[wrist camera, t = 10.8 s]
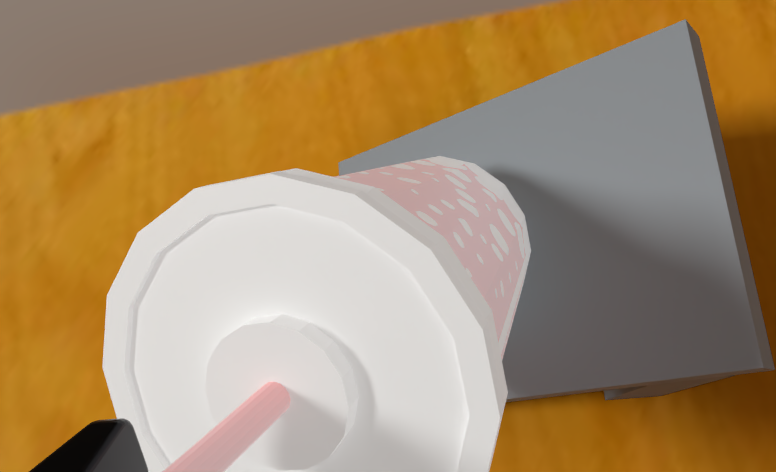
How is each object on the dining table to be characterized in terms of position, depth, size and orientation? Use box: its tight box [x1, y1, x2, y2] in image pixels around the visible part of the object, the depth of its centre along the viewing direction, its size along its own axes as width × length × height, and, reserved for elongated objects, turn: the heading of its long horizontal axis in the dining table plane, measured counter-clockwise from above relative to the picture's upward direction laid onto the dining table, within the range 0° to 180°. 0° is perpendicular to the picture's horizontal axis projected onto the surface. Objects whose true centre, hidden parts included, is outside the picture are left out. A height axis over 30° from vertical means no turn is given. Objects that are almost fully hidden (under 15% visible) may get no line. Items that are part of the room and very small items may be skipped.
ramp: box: [339, 19, 775, 402], centre depth 19 cm, size 10×8×7 cm
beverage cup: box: [103, 156, 531, 472], centre depth 12 cm, size 6×6×14 cm
